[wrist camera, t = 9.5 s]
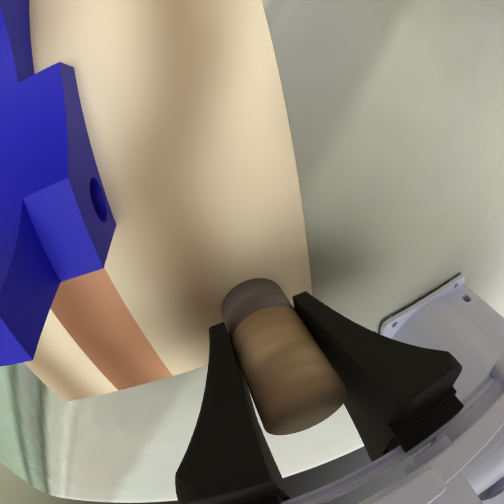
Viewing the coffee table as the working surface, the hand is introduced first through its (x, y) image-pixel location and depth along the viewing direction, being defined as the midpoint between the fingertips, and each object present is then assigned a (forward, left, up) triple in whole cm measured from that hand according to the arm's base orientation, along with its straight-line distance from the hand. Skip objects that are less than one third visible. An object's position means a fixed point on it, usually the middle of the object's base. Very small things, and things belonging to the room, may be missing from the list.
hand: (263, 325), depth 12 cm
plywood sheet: (+5, -8, -2) cm, 9 cm away
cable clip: (+6, -12, -2) cm, 13 cm away
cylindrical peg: (0, 0, -1) cm, 1 cm away
